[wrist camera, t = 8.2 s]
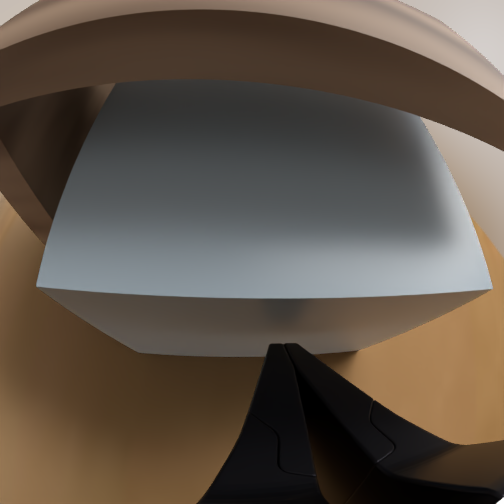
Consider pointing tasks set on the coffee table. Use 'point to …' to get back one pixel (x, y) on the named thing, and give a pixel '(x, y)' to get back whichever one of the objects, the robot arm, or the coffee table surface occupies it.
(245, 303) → the grey hollow box
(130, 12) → the overhang
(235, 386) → the coffee table surface
